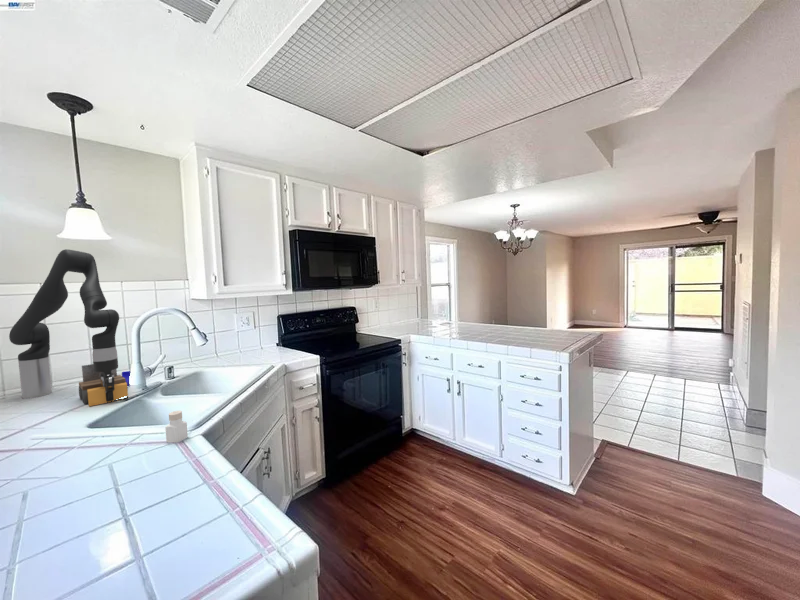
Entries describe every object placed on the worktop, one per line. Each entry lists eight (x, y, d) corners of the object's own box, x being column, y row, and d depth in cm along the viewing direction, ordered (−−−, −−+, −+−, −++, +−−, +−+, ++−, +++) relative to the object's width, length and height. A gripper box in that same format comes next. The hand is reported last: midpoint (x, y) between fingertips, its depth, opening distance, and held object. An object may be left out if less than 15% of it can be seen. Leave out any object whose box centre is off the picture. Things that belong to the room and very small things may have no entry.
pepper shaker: (177, 448, 93) (175, 415, 93) (165, 447, 94) (163, 415, 94) (189, 441, 97) (186, 410, 97) (177, 440, 98) (175, 409, 98)
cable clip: (126, 388, 154) (125, 376, 153) (114, 390, 152) (113, 377, 152) (135, 382, 165) (134, 370, 164) (123, 383, 163) (122, 371, 163)
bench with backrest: (79, 398, 141) (76, 365, 141) (120, 390, 152) (117, 359, 151) (85, 406, 131) (81, 370, 131) (128, 396, 142) (125, 363, 141)
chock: (88, 403, 132) (87, 389, 131) (127, 396, 140) (126, 382, 140) (88, 406, 129) (87, 391, 128) (128, 398, 137) (127, 384, 137)
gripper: (121, 358, 132) (124, 400, 133) (113, 354, 141) (116, 393, 142) (96, 362, 126) (99, 406, 127) (89, 358, 135) (93, 399, 136)
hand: (108, 399), depth 134 cm, fingers closed on chock, 4 cm apart
